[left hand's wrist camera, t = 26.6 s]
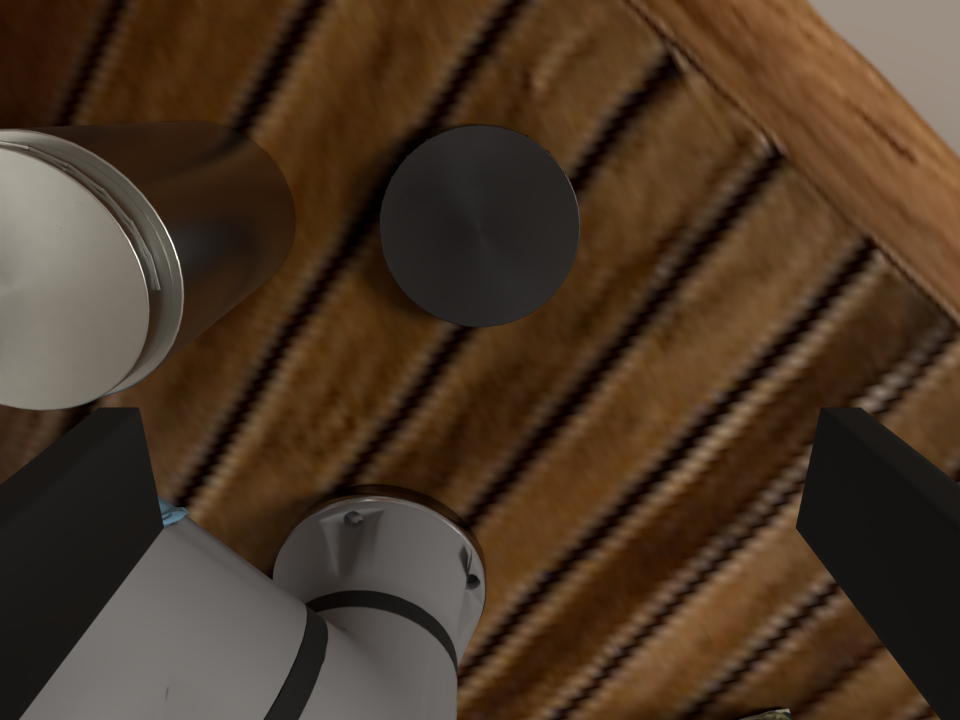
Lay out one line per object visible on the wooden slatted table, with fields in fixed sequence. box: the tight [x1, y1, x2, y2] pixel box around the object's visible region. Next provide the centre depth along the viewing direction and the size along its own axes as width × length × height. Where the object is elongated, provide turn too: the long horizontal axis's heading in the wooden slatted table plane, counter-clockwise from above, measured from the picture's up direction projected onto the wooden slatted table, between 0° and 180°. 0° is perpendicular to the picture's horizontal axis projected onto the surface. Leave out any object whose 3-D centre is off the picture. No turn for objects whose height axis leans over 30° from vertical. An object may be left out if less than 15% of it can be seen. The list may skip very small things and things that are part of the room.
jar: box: [0, 121, 295, 410], centre depth 30 cm, size 10×10×18 cm
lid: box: [379, 123, 580, 327], centre depth 38 cm, size 12×12×2 cm
